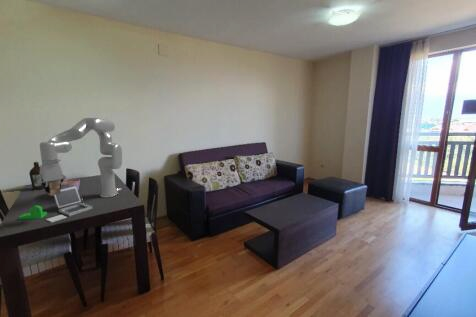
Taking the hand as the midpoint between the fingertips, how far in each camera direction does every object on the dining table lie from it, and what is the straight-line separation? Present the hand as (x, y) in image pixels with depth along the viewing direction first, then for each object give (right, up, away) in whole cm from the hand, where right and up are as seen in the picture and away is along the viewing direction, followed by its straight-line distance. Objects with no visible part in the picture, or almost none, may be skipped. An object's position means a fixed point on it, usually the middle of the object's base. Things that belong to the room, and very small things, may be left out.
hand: (53, 191), depth 138 cm
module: (0, -2, 0) cm, 2 cm away
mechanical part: (-17, -18, +5) cm, 25 cm away
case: (0, -16, +18) cm, 24 cm away
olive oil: (-64, -8, +63) cm, 90 cm away
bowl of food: (-28, -11, +47) cm, 56 cm away
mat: (0, -18, +3) cm, 18 cm away
